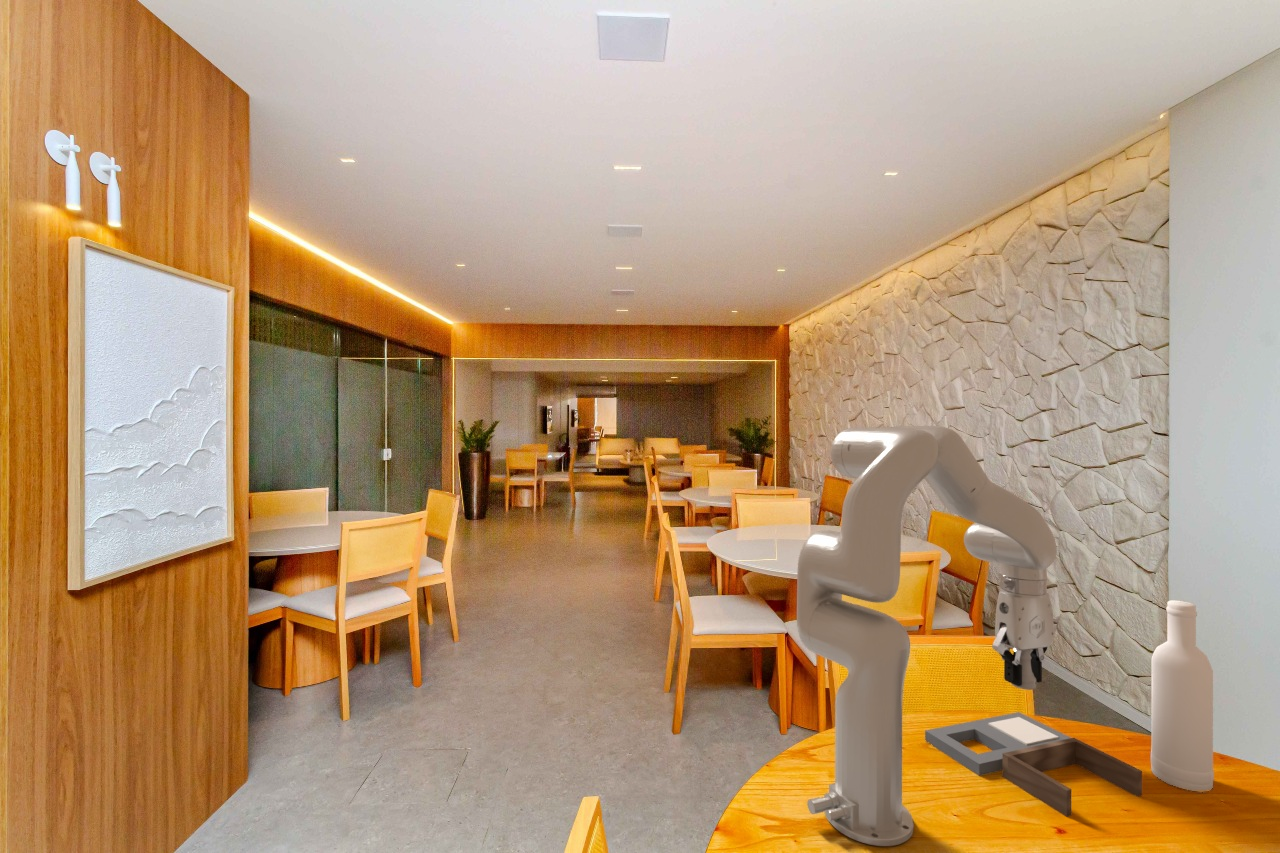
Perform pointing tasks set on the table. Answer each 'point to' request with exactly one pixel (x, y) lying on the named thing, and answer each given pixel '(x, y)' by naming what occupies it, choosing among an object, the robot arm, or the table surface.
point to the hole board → (991, 739)
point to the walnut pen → (1034, 760)
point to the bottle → (1182, 705)
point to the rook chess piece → (1026, 671)
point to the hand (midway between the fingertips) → (1022, 680)
